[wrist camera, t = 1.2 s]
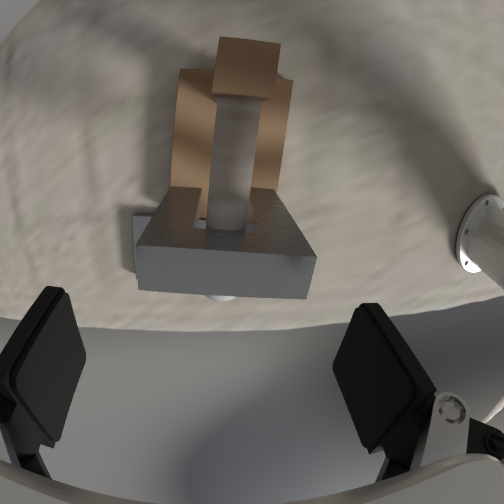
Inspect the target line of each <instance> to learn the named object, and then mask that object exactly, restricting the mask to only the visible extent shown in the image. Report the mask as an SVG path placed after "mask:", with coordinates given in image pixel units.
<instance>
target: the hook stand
mask: <svg viewBox="0 0 504 504" xmlns="http://www.w3.org/2000/svg"><path fill="white" fill-rule="evenodd" d="M280 46H281V44H277V43H271V42H264V41H257V40H249V39H240V38H229V37H220V38H219V45H218V51H217V58H216V65H215V71H214V70H196V69H180V77H179V85H178V93H177V102H176V112H175V122H174V134H173V147H172V163H171V182H170V188H171V186H178V187H195V188H202V195H201V210H200V218H206V229H219V230H233V231H245V229H246V221H247V213H248V205H249V197H250V189H251V187H257V188H267V189H274V190H275V192H276V194H277V187H278V181H279V174H280V167H281V161H282V154H283V147H284V141H285V134H286V127H287V120H288V113H289V106H290V99H291V92H292V84H293V80H288V79H282V78H276V75H277V68H278V60H279V53H280ZM205 296H207V297H208V298H210V299H212V300H216V301H228V300H231V299H233V298H235V296H216V295H205Z"/></svg>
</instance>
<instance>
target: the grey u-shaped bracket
mask: <svg viewBox="0 0 504 504" xmlns="http://www.w3.org/2000/svg"><path fill="white" fill-rule="evenodd" d="M201 195H202V188H195V187H178V186H171V188H170V189H169V191H168V192H167V194H166V195H165V197H164V198H163V200H162V202H161V203H160V205H159V206H158V208H157V210H156V211H155V213H154V214H153V216H152V218H151V219H150V221H149V223H148V224H147V226H146V228H145V229H144V231H143V233H142V234H141V236H140V238H139V239H138V241H137V243H136V245H135V249H136V264H137V277H138V288H139V290H146V291H158V292H171V293H185V294H200V295H216V296H235V297H257V298H286V299H306V298H307V294H308V290H309V287H310V283H311V279H312V275H313V271H314V267H315V263H316V259H317V256H316V254H315V253H314V251H313V250H312V248H311V246H310V245H309V243H308V242H307V240H306V238H305V237H304V235H303V234H302V232H301V231H300V229H299V227H298V226H297V224H296V223H295V221H294V220H293V218H292V216H291V215H290V213H289V212H288V210H287V209H286V207H285V206H284V204H283V203H282V201H281V200H280V198H279V197H278V195H277V194H276V192H275V190H274V189H267V188H257V187H251V189H250V197H249V205H248V213H247V221H246V229H245V230H246V231H233V230H219V229H204V228H198V225H199V220H200V210H201Z"/></svg>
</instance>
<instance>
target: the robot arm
mask: <svg viewBox="0 0 504 504" xmlns="http://www.w3.org/2000/svg"><path fill="white" fill-rule="evenodd" d="M456 255H457V260H458V262H459V264H460V265H461V266H462V267H463V268H464V269H465V270H466V271H468V272H473V273H474V272H479V271H481V270H482V271H483V272H484V273H485V274H486V275H488V276H489V277H490V278H491V279H492V280H493V281H494V282H495V283H497V284H498V285H499V286H500V287H501V288H502V289H503V290H504V200H503V199H502V198H500V197H499V196H497V195H494V194H486V195H483V196H482V197H480V198H479V199H478V200H476V201H475V202H474V203H473V205H472V206H471V207H470V208H469V210H468V211H467V213H466V215H465V217H464V219H463V221H462V223H461V226H460V229H459V232H458V236H457V242H456ZM85 362H86V352H85V349H84V346H83V343H82V339H81V336H80V333H79V330H78V326H77V323H76V320H75V316H74V312H73V309H72V305H71V301H70V297H69V295H68V293H65V290H64V289H63V288H61V287H53V286H46V287H45V288H44V290H43V291H42V292H41V294H40V295H39V296H38V298H37V299H36V301H35V302H34V303H33V305H32V306H31V308H30V309H29V310H28V312H27V313H26V315H25V316H24V318H23V319H22V321H21V322H20V324H19V325H18V327H17V328H16V330H15V331H14V333H13V334H12V336H11V338H10V339H9V341H8V343H7V344H6V346H5V347H4V349H3V351H2V352H1V354H0V504H157V503H149V502H141V501H136V500H130V499H124V498H119V497H114V496H109V495H105V494H100V493H96V492H92V491H88V490H85V489H81V488H77V487H74V486H71V485H68V484H64V483H61V482H58V481H55V480H52V478H51V476H50V474H49V472H48V470H47V468H46V466H45V464H44V462H43V460H42V457H41V455H40V453H39V447H40V444H42V445H45V446H48V447H51V448H54V446H55V442H57V441H59V440H60V438H61V435H62V431H63V428H64V424H65V421H66V417H67V414H68V411H69V407H70V405H71V402H72V398H73V395H74V393H75V390H76V387H77V384H78V381H79V378H80V375H81V372H82V370H83V367H84V365H85ZM333 372H334V375H335V377H336V379H337V382H338V385H339V387H340V390H341V392H342V395H343V397H344V400H345V402H346V405H347V407H348V410H349V412H350V415H351V418H352V420H353V422H354V425H355V428H356V430H357V433H358V436H359V438H360V441H361V443H362V445H363V447H365V448H367V450H368V452H369V454H373V453H376V452H379V451H383V450H384V452H385V455H386V456H385V459H384V462H383V465H382V467H381V469H380V471H379V474H378V476H377V479H376V481H375V483H373V484H369V485H366V486H363V487H359V488H356V489H352V490H348V491H344V492H340V493H336V494H331V495H327V496H322V497H317V498H311V499H306V500H299V501H294V502H285V503H278V504H504V434H503V433H502V432H501V431H500V430H498V429H496V428H494V427H492V426H489V425H486V424H484V423H482V422H479V421H477V420H474V419H472V418H470V417H469V416H470V415H469V409H468V406H467V405H466V403H465V402H464V400H463V399H462V398H460V397H459V396H458V395H456V394H454V393H450V392H445V393H442V394H439V395H438V396H437V397H435V396H434V393H435V392H436V390H437V389H436V388H435V386H434V385H433V383H432V381H431V380H430V378H429V376H428V375H427V373H426V372H425V370H424V369H423V367H422V366H421V364H420V363H419V361H418V359H417V358H416V357H415V355H414V353H413V352H412V350H411V349H410V348H409V346H408V345H407V343H406V342H405V340H404V339H403V337H402V336H401V334H400V333H399V331H398V330H397V329H396V327H395V326H394V324H393V323H392V321H391V320H390V319H389V317H388V316H387V314H386V313H385V312H384V310H383V309H382V307H381V306H380V305H379V304H378V303H362V304H361V305H360V306H359V307H358V308H356V309H355V311H354V313H353V316H352V318H351V321H350V323H349V326H348V328H347V331H346V333H345V336H344V338H343V341H342V343H341V345H340V348H339V350H338V352H337V355H336V357H335V359H334V362H333Z"/></svg>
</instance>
